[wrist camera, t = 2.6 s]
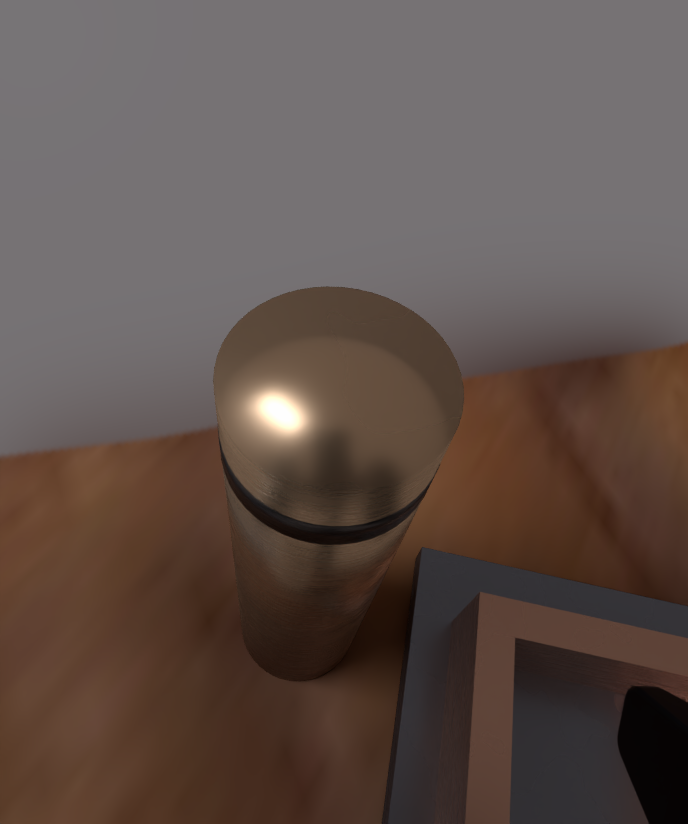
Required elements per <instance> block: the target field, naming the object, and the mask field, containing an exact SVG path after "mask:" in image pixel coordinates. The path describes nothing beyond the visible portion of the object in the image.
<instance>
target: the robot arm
mask: <svg viewBox="0 0 688 824" xmlns="http://www.w3.org/2000/svg"><path fill="white" fill-rule="evenodd" d="M617 743H618V749H619V753H620V756H621V758H622V761H623V763H624V765H625V768H626V770H627V773H628V775H629V777H630V780H631V782H632V785H633V787H634V790H635V792H636V794H637V797H638V799H639V802H640V804H641V806H642V809H643V811H644V814H645V816H646V818H647V821H648V823H649V824H688V702H686V701H684V700H682V699H681V698H679V697H677V696H675V695H673V694H671V693H670V692H668V691H666V690H664V689H662V688H660V687H656V686H632V687H630V688H629V689H628V690H627V692H626V695H625V699H624V704H623V709H622V714H621V719H620V724H619V729H618V734H617Z"/></svg>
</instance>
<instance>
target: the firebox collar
mask: <svg viewBox="0 0 688 824" xmlns="http://www.w3.org/2000/svg"><path fill="white" fill-rule="evenodd" d="M632 686H656V687H660V688H662V689H664V690H666V691H668V692H670V693H671V694H673V695H675V696H677V697H679V698H681V699H682V700H684V701H686V702H688V606H684V605H679V604H675V603H670V602H666V601H661V600H657V599H652V598H648V597H643V596H639V595H634V594H630V593H625V592H621V591H617V590H612V589H608V588H603V587H599V586H594V585H590V584H585V583H581V582H576V581H572V580H567V579H563V578H558V577H554V576H549V575H545V574H540V573H536V572H531V571H527V570H522V569H518V568H513V567H509V566H504V565H500V564H495V563H491V562H486V561H482V560H477V559H473V558H468V557H464V556H459V555H455V554H450V553H446V552H442V551H437V550H433V549H428V548H424V547H422V548H421V550H420V552H419V553H418V555H417V557H416V561H415V569H414V577H413V585H412V593H411V600H410V608H409V616H408V624H407V632H406V639H405V647H404V655H403V663H402V671H401V678H400V686H399V694H398V702H397V709H396V717H395V725H394V733H393V741H392V748H391V756H390V764H389V772H388V780H387V787H386V795H385V803H384V811H383V818H382V824H649V823H648V821H647V818H646V816H645V814H644V811H643V809H642V806H641V804H640V802H639V799H638V797H637V794H636V792H635V790H634V787H633V785H632V782H631V780H630V777H629V775H628V773H627V770H626V768H625V765H624V763H623V761H622V758H621V756H620V753H619V749H618V743H617V734H618V729H619V724H620V719H621V714H622V709H623V704H624V699H625V695H626V692H627V690H628V689H629V688H630V687H632Z"/></svg>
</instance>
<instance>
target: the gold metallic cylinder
mask: <svg viewBox="0 0 688 824" xmlns="http://www.w3.org/2000/svg"><path fill="white" fill-rule="evenodd" d="M213 383H214V395H215V404H216V412H217V421H218V434H219V444H220V452H221V461H222V465H223V473H224V481H225V490H226V498H227V507H228V516H229V524H230V533H231V541H232V550H233V558H234V567H235V576H236V584H237V593H238V601H239V610H240V619H241V627H242V635H243V639H244V642H245V645H246V648H247V650H248V652H249V654H250V655H251V657H252V658H253V659H254V661H255V662H256V663H257V664H258V665H259V666H260V667H261V668H262V669H264V670H265V671H266V672H268V673H269V674H271V675H273V676H275V677H278V678H280V679H284V680H289V681H306V680H311V679H314V678H317V677H320V676H322V675H324V674H326V673H327V672H329V671H330V670H332V669H333V668H334V667H335V666H336V665H337V664H338V663H339V662H340V661H341V660H342V659H343V657H344V656H345V654H346V653H347V651H348V649H349V647H350V645H351V643H352V641H353V639H354V637H355V635H356V633H357V631H358V629H359V627H360V625H361V623H362V621H363V619H364V617H365V615H366V612H367V610H368V608H369V606H370V604H371V602H372V600H373V598H374V596H375V594H376V592H377V590H378V588H379V586H380V584H381V582H382V580H383V578H384V576H385V574H386V572H387V570H388V568H389V566H390V564H391V562H392V560H393V558H394V556H395V554H396V552H397V550H398V548H399V546H400V544H401V542H402V540H403V537H404V535H405V533H406V531H407V529H408V527H409V525H410V523H411V521H412V519H413V517H414V515H415V513H416V511H417V509H418V507H419V505H420V503H421V501H422V499H423V498H424V496H425V494H426V492H427V490H428V488H429V486H430V484H431V482H432V480H433V478H434V476H435V474H436V472H437V470H438V468H439V466H440V463H441V460H442V458H443V456H444V454H445V452H446V450H447V448H448V446H449V444H450V442H451V440H452V438H453V436H454V434H455V432H456V430H457V428H458V426H459V422H460V419H461V416H462V411H463V403H464V388H463V382H462V377H461V372H460V370H459V367H458V364H457V361H456V359H455V357H454V356H453V354H452V352H451V350H450V348H449V347H448V345H447V344H446V342H445V341H444V339H443V338H442V337H441V336H440V335H439V334H438V332H437V331H436V330H435V329H434V328H433V327H432V326H431V325H430V324H429V323H427V322H426V321H425V320H424V319H423V318H421V317H420V316H419V315H417V314H416V313H414V312H413V311H412V310H410V309H408V308H407V307H405V306H403V305H401V304H399V303H398V302H395V301H393V300H390V299H389V298H386V297H383V296H381V295H378V294H374V293H372V292H367V291H362V290H359V289H352V288H345V287H313V288H307V289H300V290H296V291H292V292H288V293H285V294H282V295H280V296H277V297H274V298H272V299H270V300H268V301H266V302H264V303H262V304H260V305H259V306H257V307H256V308H254V309H253V310H251V311H250V312H248V313H247V314H246V315H245V316H244V317H243V318H242V319H241V320H240V321H238V323H237V324H236V325H235V326H234V327H233V328H232V330H231V331H230V332H229V334H228V335H227V337H226V338H225V340H224V342H223V343H222V346H221V348H220V350H219V353H218V355H217V359H216V363H215V367H214V379H213Z"/></svg>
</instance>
